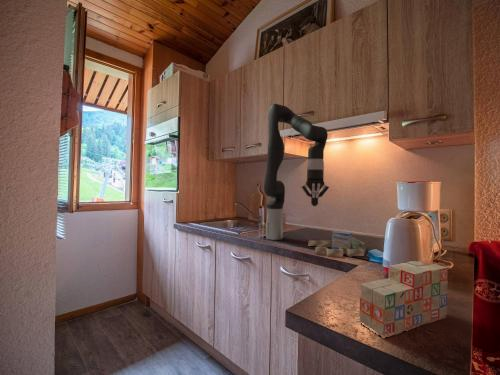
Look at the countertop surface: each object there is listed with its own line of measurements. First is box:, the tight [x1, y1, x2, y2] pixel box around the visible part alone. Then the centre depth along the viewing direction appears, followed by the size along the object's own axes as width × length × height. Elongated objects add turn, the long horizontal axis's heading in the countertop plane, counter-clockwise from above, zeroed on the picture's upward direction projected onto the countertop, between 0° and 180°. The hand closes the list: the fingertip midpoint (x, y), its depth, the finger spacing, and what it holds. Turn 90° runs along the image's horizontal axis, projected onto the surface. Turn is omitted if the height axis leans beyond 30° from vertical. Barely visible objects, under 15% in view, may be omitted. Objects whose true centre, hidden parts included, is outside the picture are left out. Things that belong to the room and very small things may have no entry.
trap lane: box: [307, 236, 366, 258], centre depth 114 cm, size 22×17×5 cm
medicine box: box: [331, 230, 352, 249], centre depth 116 cm, size 8×4×9 cm, turn 58°
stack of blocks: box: [359, 260, 449, 335], centre depth 56 cm, size 21×6×12 cm, turn 113°
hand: (314, 205), depth 115 cm, fingers closed
